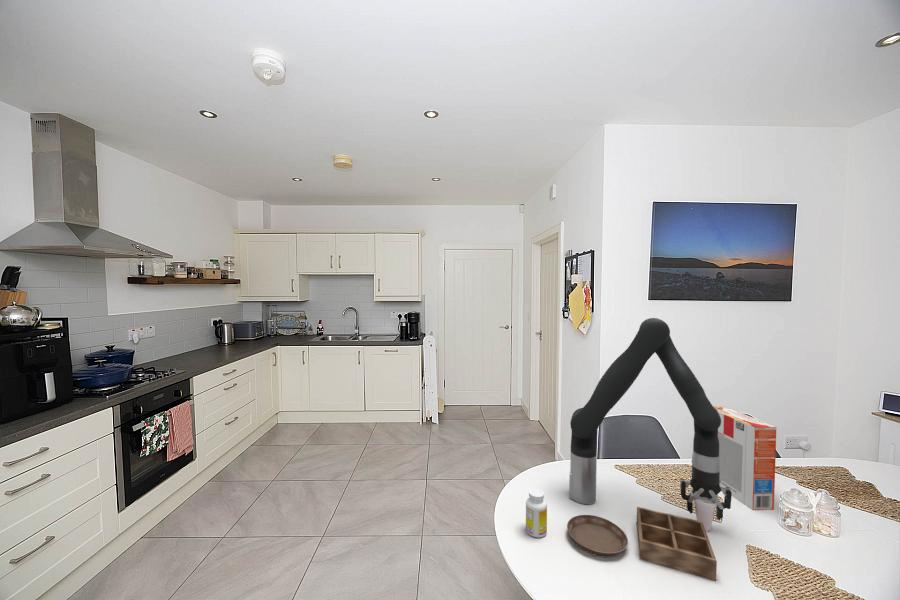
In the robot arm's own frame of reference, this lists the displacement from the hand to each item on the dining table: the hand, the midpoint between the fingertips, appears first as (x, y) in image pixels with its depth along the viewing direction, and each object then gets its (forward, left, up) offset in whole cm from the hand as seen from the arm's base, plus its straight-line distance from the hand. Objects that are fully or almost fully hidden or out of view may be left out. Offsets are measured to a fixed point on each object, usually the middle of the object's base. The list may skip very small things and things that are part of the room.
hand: (704, 515), depth 120 cm
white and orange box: (+16, +31, -4) cm, 35 cm away
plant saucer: (-32, -22, -5) cm, 39 cm away
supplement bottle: (-50, -26, -4) cm, 57 cm away
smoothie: (0, 0, -4) cm, 4 cm away
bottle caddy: (-11, -16, -4) cm, 20 cm away
